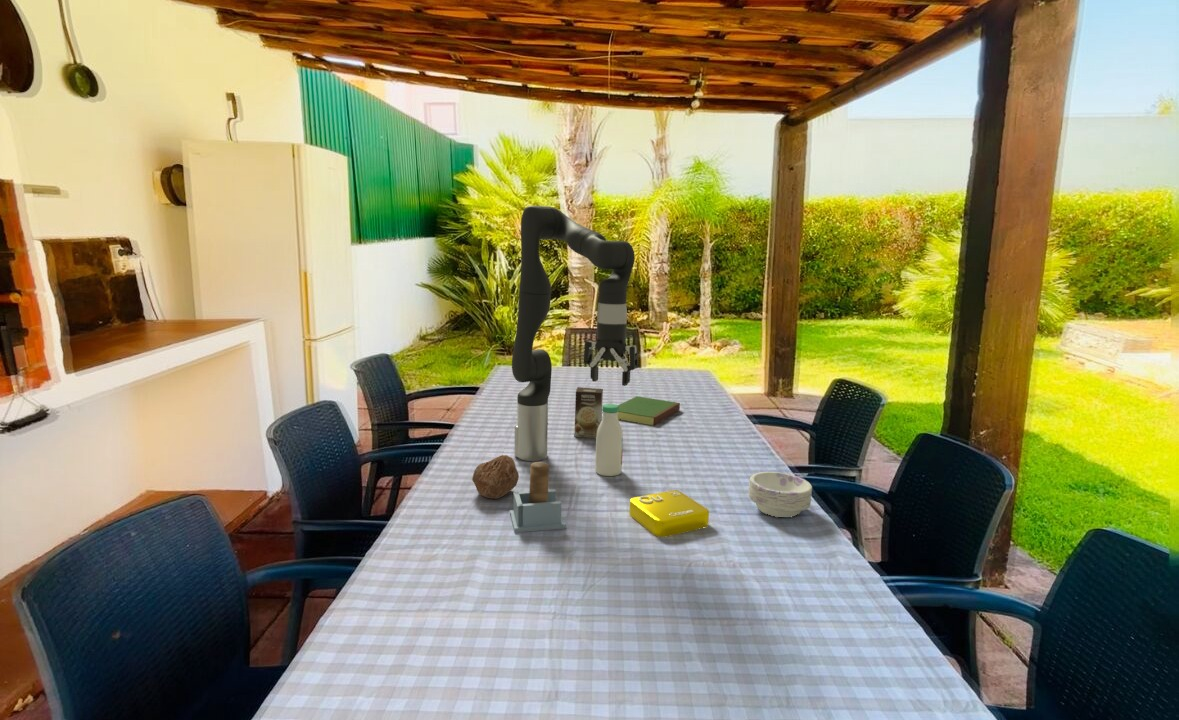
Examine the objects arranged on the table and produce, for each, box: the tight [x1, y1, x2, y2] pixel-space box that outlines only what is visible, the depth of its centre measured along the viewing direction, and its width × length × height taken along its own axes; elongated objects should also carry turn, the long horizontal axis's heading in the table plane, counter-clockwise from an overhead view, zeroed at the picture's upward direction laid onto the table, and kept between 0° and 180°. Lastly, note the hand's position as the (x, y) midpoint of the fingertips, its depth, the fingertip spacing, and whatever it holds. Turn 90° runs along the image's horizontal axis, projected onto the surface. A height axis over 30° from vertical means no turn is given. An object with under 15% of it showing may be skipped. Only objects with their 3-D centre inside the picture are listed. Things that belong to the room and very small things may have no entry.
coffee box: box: [573, 386, 604, 439], centre depth 219 cm, size 9×6×16 cm
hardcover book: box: [618, 395, 681, 427], centre depth 248 cm, size 25×19×4 cm
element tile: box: [629, 489, 710, 538], centre depth 156 cm, size 15×15×5 cm
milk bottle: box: [595, 403, 624, 477], centre depth 185 cm, size 8×8×20 cm
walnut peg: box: [529, 461, 550, 503], centre depth 153 cm, size 4×4×13 cm
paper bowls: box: [748, 471, 813, 518], centre depth 163 cm, size 15×15×8 cm
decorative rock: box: [471, 454, 520, 499], centre depth 169 cm, size 13×11×10 cm
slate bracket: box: [509, 489, 567, 533], centre depth 154 cm, size 12×10×6 cm
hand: (609, 383), depth 166 cm, fingers open, 8 cm apart
